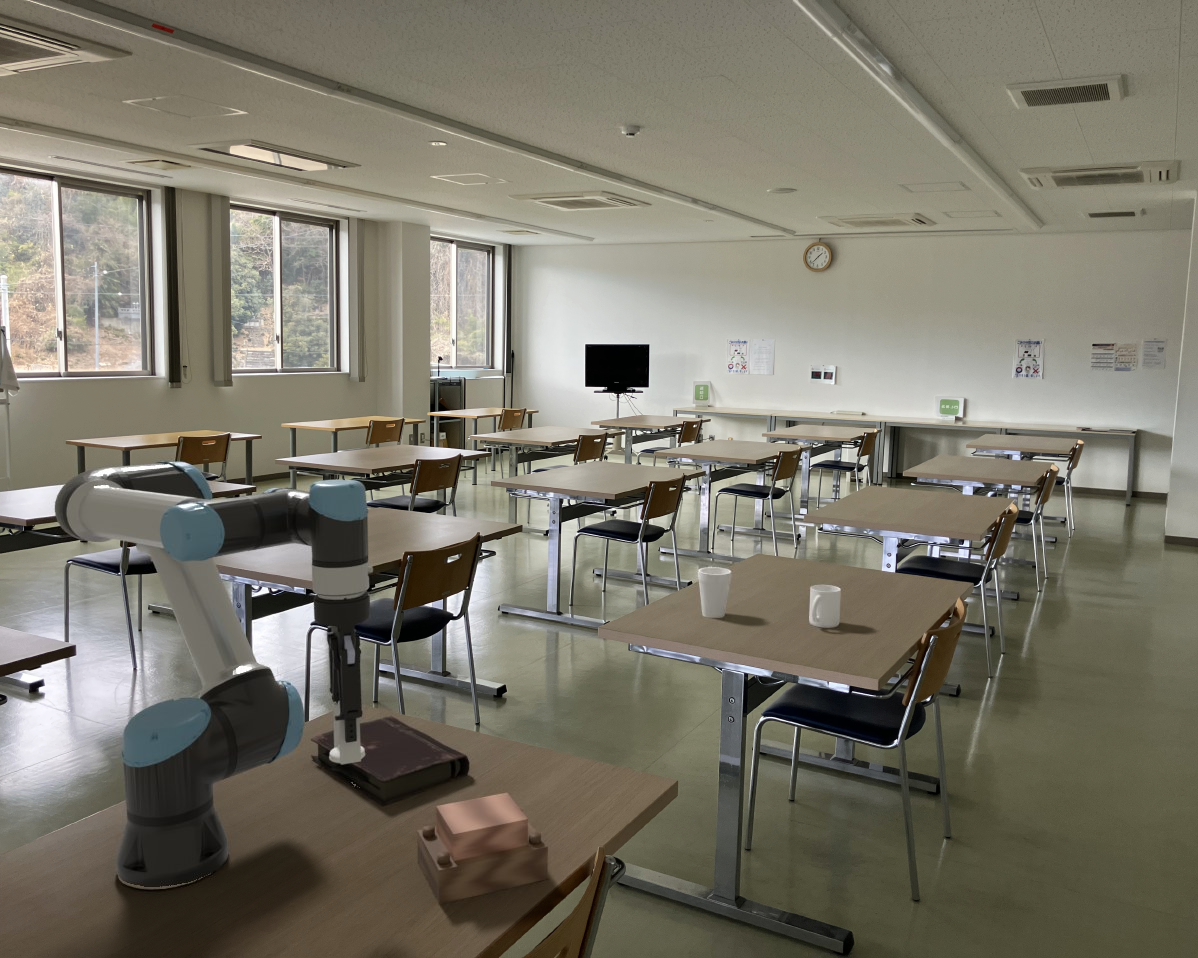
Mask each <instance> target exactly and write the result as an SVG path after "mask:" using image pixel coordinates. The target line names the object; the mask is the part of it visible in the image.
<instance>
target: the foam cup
mask: <svg viewBox="0 0 1198 958" xmlns="http://www.w3.org/2000/svg"><path fill="white" fill-rule="evenodd" d="M697 579H698V584H699V585H698V586H699V593H700V605H701V612H702V613H701V614H702V616H703V617H706V618H710V619H721V618H724V617H725V614H726V610H727V609H726V608H727V602H728V597H729V591H730V585H731V581H732V571H731V570H730V569H729V568H724V567H718V566H717V567H714V566H710V567H701V568H699V569H698V570H697Z"/></svg>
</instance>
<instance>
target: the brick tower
mask: <svg viewBox="0 0 1198 958" xmlns="http://www.w3.org/2000/svg"><path fill="white" fill-rule="evenodd" d="M435 811H436V812H435V813H436V814H435V815H436V817H435V818H436V819H435V821H436V823H435V824H436V825H435V826H434V825H425V826H423V827H422V829H417V830H416V832H417V833H416V834H417V835H416V836H417V837H416V838H417V863H418V865H419V867H420V869H421V871H422V873H423V875H424V877H425V879H426V881H427V882H428V885H429V887H430V889H431V890H432V892H433V893H432V894H433V895H434V897H435V899H436V900H437V903H438V904H439V905H442V904H447V903H452V902H455V901H459V900H464V899H468V898H472V897H477V896H481V895H485V894H489V893H493V892H498V891H503V890H506V889H511V888H517V887H519V886H524V885H527V884H533V883H537V882H540V881H545V880H548V878H549V877H548V875H549V873H548V872H549V869H548V868H549V863H548V861H549V860H548V859H549V858H548V855H549V854H548V851H549V850H548V849H549V846H548V844H546V842H545V841H544V839H542V834H541V833H540V832H539V831H536V829H535V828H534V827H533V826H532V824H531V823H530V822H529V818H528V817H527V816H526V815H525V813H524V812H523V810H522V809H521V808H520V807H519V805H518V804H517V803H516V801H514V799H513V798H512V797H511V795H510V794H509V793H508V792H504V793H498V794H492V795H488V796H483V797H477V798H471V799H466V800H462V801H456V802H449V803H445V804H440V805H436V807H435Z"/></svg>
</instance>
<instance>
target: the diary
mask: <svg viewBox="0 0 1198 958" xmlns="http://www.w3.org/2000/svg"><path fill="white" fill-rule="evenodd" d="M310 740H311V742H313V743H315V744H317V755H310V757H311V759H312V761H314V763H317V764H318V765H319V766H320V765H321V766H320V767H322V768H323V767H324V768H323V769H325V768H326V769H327V770H326V769H325V770H326V771H328V772H329V771H330V772H329V773H331V774H332V773H333V775H335V777H337V776H338V777H337V778H339V779H341V781H344V782H345V783H347V784H348V785H349V784H350V785H349V786H350V787H352V786H353V787H352V788H354V785H353V784H356V786H358V787H360V789H362V790H363V791H362V790H361V791H362V792H364V793H365V794H366V793H367V794H366V795H367V796H368V797H369V799H371V800H372V801H373V802H375V803H377V804H378V805H380V806H381V807H385V806H386V807H387V806H388V805H391V804H394V803H397V802H400V801H402V800H404V799H407V798H410V797H413V796H415V795H419V794H420V793H424V792H426V789H427V788H429V787H433V786H434V785H435V786H436V785H438V784H440V782H441V783H443V782H445V780H446V781H448V780H450V779H451V776H452V778H454V777H455V778H454V779H456V780H458V778H456V777H457V776H458V774H461V775H463V776H464V777H467V776H468V775H469V772H470V760H469V758H468V755H466V754H465V753H463V752H461V751H459V750H456V749H454V748H452V747H450V746H448V745H445V744H444V743H442V742H441V741H439V740H437V739H435V738H434V737H432V736H430V735H428V734H426V733H425V732H422V731H420V730H419V729H416V728H413V727H412V726H409V725H407V724H406V723H404V722H402V720H399V719H398V718H396V717H394V716H393V715H389V716H386V717H382V718H377V719H374V720H370V721H364V722H360V746H362V747H363V748H364V750H365V751H364V752H365V756H364V757H363V758H362V759H361V761H360V762H354V763H348V764H341V763H336V762H333V761H331V760H330V759H329V756H330V751H331V750H332V749H334V729H332V730H330V731H328V732H324V733H321V734H319V735H316V736H314V737H311V738H310ZM442 781H443V782H442ZM351 782H353V784H352V783H351ZM360 789H359V790H360ZM424 790H425V791H424Z"/></svg>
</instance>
